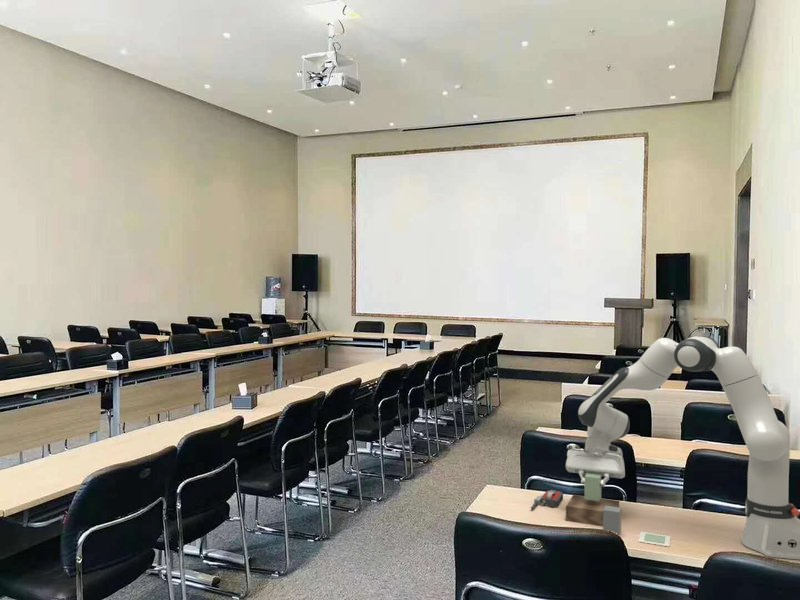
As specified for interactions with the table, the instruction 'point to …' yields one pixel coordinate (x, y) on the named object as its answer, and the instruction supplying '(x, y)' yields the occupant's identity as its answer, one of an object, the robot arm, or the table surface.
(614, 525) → the grey block
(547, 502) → the walkie-talkie
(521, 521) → the table surface
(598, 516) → the walnut plinth
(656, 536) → the swatch
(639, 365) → the robot arm
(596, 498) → the sage block
